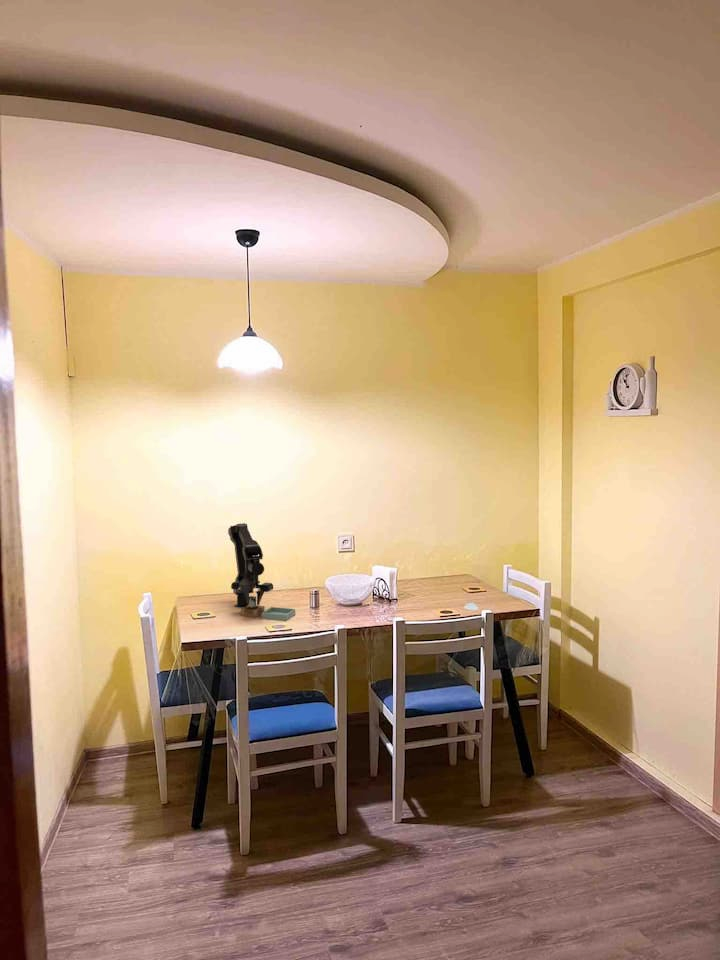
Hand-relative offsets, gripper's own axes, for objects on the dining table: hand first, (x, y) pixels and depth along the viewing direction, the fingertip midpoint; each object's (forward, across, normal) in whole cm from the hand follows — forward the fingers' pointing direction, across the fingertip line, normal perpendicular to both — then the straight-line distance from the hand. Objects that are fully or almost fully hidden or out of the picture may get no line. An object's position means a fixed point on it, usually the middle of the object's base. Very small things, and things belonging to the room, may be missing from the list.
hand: (252, 604), depth 301 cm
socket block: (+4, 0, 0) cm, 4 cm away
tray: (+4, +13, 0) cm, 14 cm away
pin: (+4, 0, 0) cm, 4 cm away
